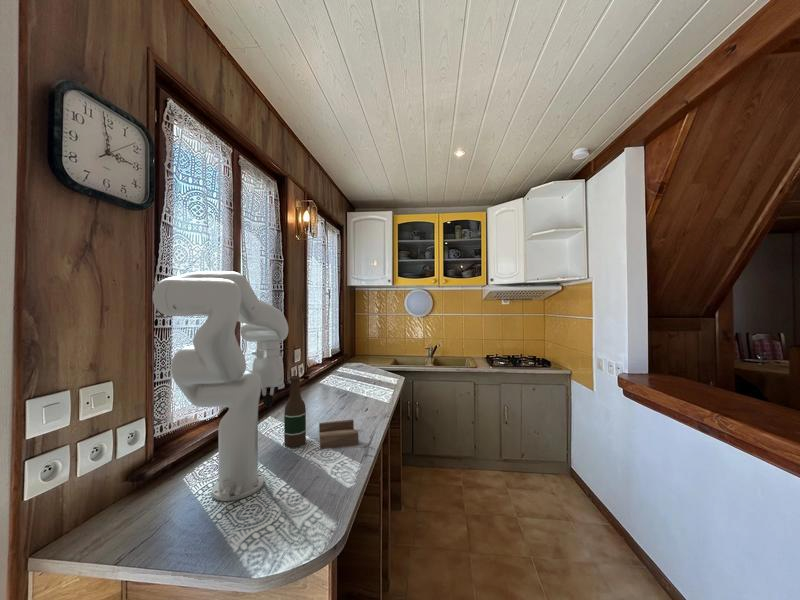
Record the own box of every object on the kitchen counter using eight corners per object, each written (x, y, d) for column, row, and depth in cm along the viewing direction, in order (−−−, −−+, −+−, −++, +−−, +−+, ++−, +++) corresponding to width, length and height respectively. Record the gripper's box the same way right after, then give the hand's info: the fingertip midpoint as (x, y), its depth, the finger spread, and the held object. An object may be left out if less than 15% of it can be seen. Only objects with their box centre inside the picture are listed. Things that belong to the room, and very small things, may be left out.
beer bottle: (309, 439, 118) (309, 373, 118) (301, 448, 110) (301, 378, 110) (289, 438, 118) (289, 373, 119) (279, 448, 111) (279, 378, 111)
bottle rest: (358, 444, 113) (358, 432, 113) (320, 448, 110) (320, 437, 110) (353, 429, 127) (353, 419, 127) (319, 433, 123) (319, 422, 123)
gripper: (242, 356, 107) (243, 411, 106) (290, 354, 111) (290, 407, 111) (246, 353, 114) (246, 405, 113) (291, 351, 118) (291, 401, 118)
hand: (268, 406), depth 112 cm, fingers closed
